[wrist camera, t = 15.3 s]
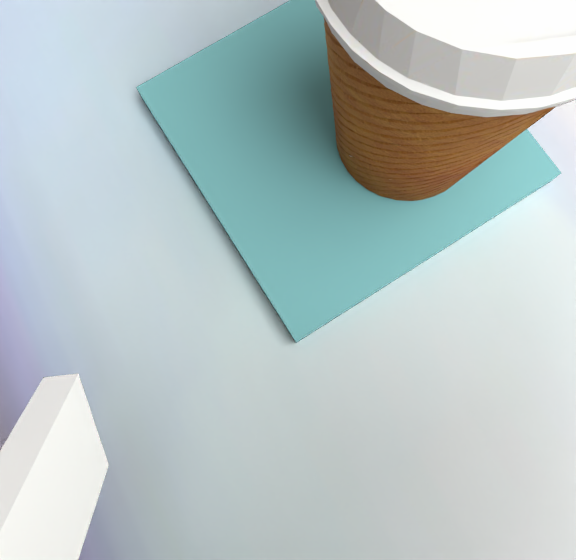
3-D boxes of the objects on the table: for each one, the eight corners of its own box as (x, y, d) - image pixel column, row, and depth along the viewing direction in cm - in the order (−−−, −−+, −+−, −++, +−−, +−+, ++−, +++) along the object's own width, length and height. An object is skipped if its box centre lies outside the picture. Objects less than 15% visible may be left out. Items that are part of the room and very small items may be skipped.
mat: (142, 98, 25) (136, 87, 24) (381, -37, 27) (384, -53, 26) (296, 342, 23) (296, 341, 22) (550, 181, 24) (561, 172, 23)
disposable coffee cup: (444, 277, 22) (608, 159, 11) (259, 165, 23) (222, -55, 12) (548, 106, 24) (793, -165, 12) (369, 8, 25) (434, -327, 13)
